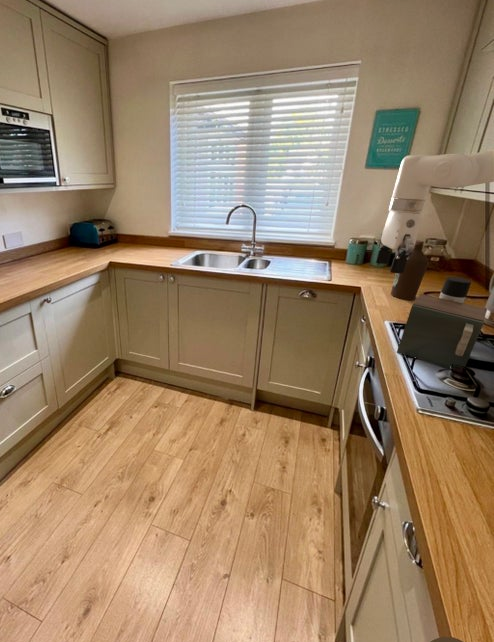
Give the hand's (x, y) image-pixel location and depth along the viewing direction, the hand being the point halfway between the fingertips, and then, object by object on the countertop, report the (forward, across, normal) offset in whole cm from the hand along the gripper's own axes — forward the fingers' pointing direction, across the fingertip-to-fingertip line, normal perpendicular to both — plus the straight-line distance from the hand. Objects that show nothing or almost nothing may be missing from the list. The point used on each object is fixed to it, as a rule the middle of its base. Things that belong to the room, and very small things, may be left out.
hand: (388, 267), depth 94 cm
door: (+26, -9, -13) cm, 30 cm away
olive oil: (+26, +52, -34) cm, 68 cm away
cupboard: (+26, -1, -19) cm, 32 cm away
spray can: (+26, +14, -29) cm, 41 cm away
